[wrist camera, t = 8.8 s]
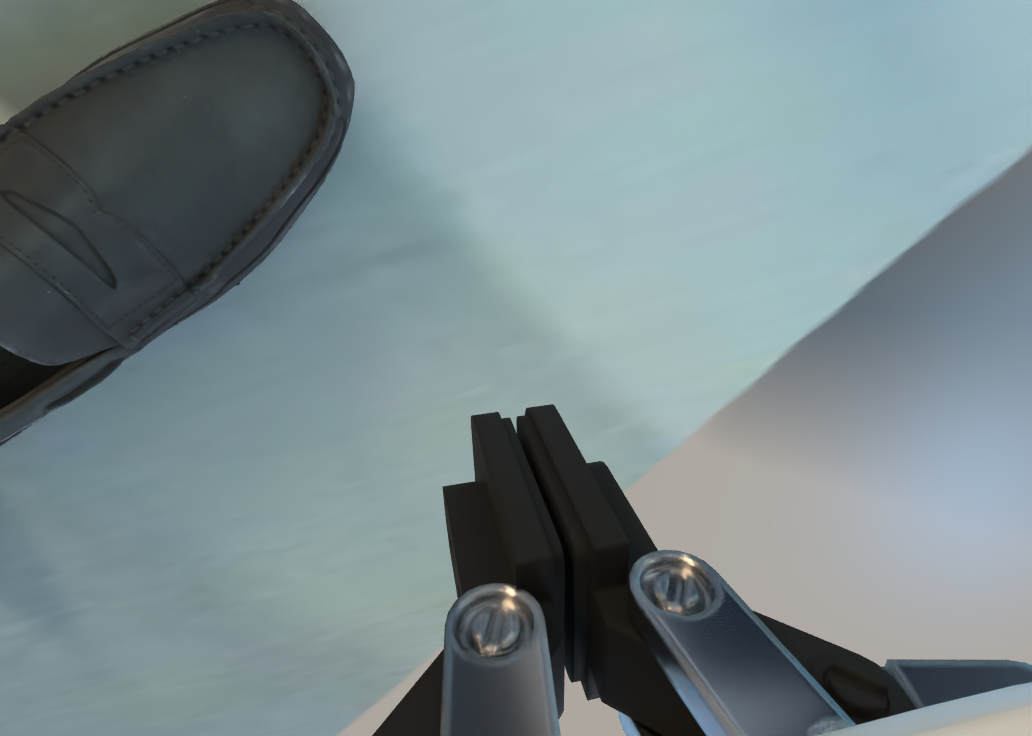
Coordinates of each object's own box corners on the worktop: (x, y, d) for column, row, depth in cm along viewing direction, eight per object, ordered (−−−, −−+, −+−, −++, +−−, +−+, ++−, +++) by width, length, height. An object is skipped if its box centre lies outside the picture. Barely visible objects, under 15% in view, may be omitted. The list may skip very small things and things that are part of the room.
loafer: (402, 119, 29) (416, 136, 20) (35, 480, 33) (-90, 628, 24) (224, -85, 24) (138, -182, 15) (-181, 366, 28) (-438, 499, 19)
